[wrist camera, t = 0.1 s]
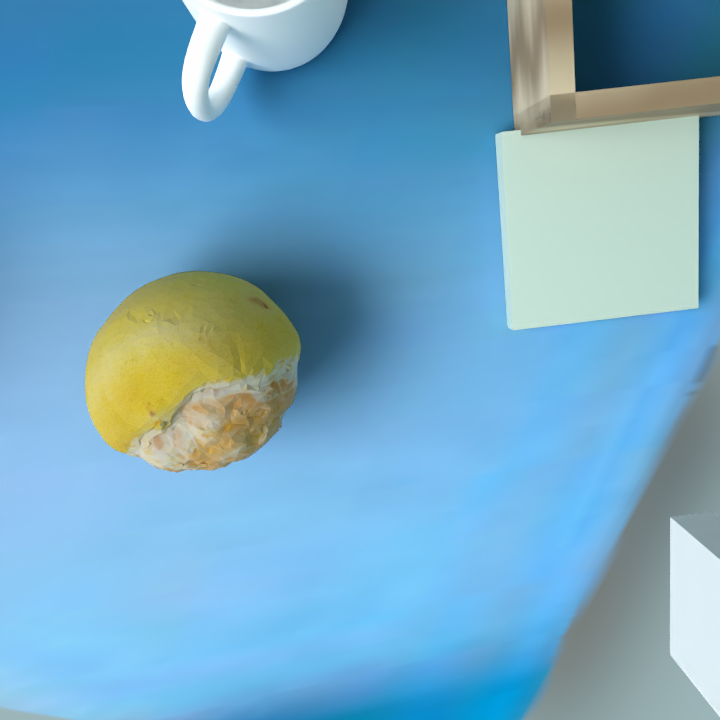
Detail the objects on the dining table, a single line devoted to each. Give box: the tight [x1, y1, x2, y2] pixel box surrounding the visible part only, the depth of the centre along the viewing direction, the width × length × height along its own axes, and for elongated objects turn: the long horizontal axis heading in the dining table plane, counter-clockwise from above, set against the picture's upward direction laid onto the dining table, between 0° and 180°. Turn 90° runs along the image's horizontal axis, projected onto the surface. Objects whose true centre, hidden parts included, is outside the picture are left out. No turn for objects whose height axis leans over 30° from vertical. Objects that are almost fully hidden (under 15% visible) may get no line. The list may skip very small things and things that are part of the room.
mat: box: [495, 116, 699, 330], centre depth 37 cm, size 11×11×1 cm
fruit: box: [85, 271, 301, 472], centre depth 33 cm, size 10×11×10 cm
